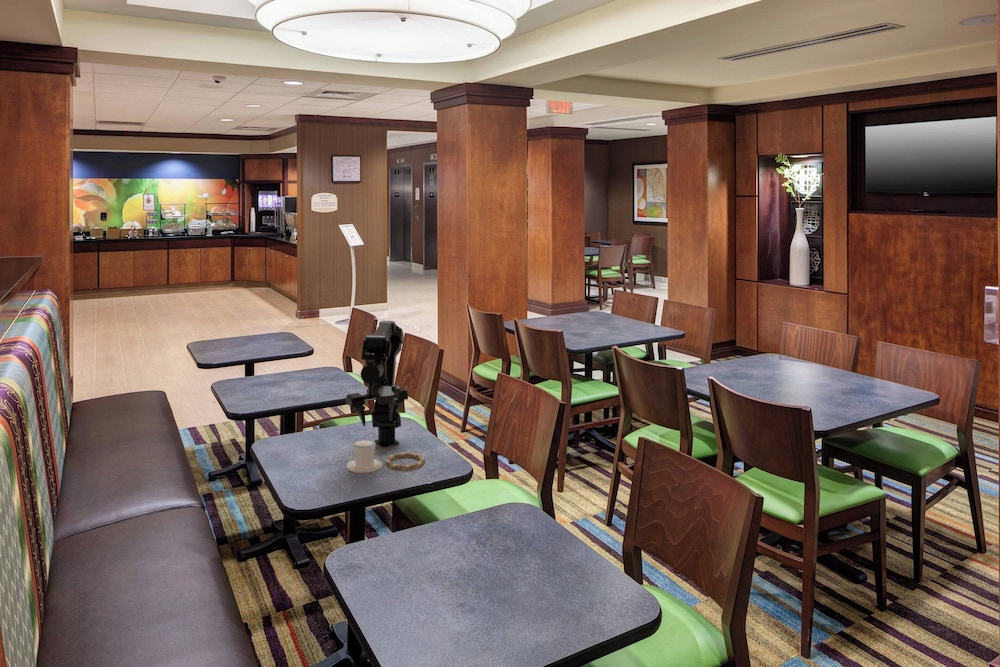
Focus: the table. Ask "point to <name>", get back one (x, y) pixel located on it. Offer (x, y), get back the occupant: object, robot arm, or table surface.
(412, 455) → the oak collar
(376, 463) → the coaster mat
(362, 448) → the shot glass
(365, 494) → the table surface
